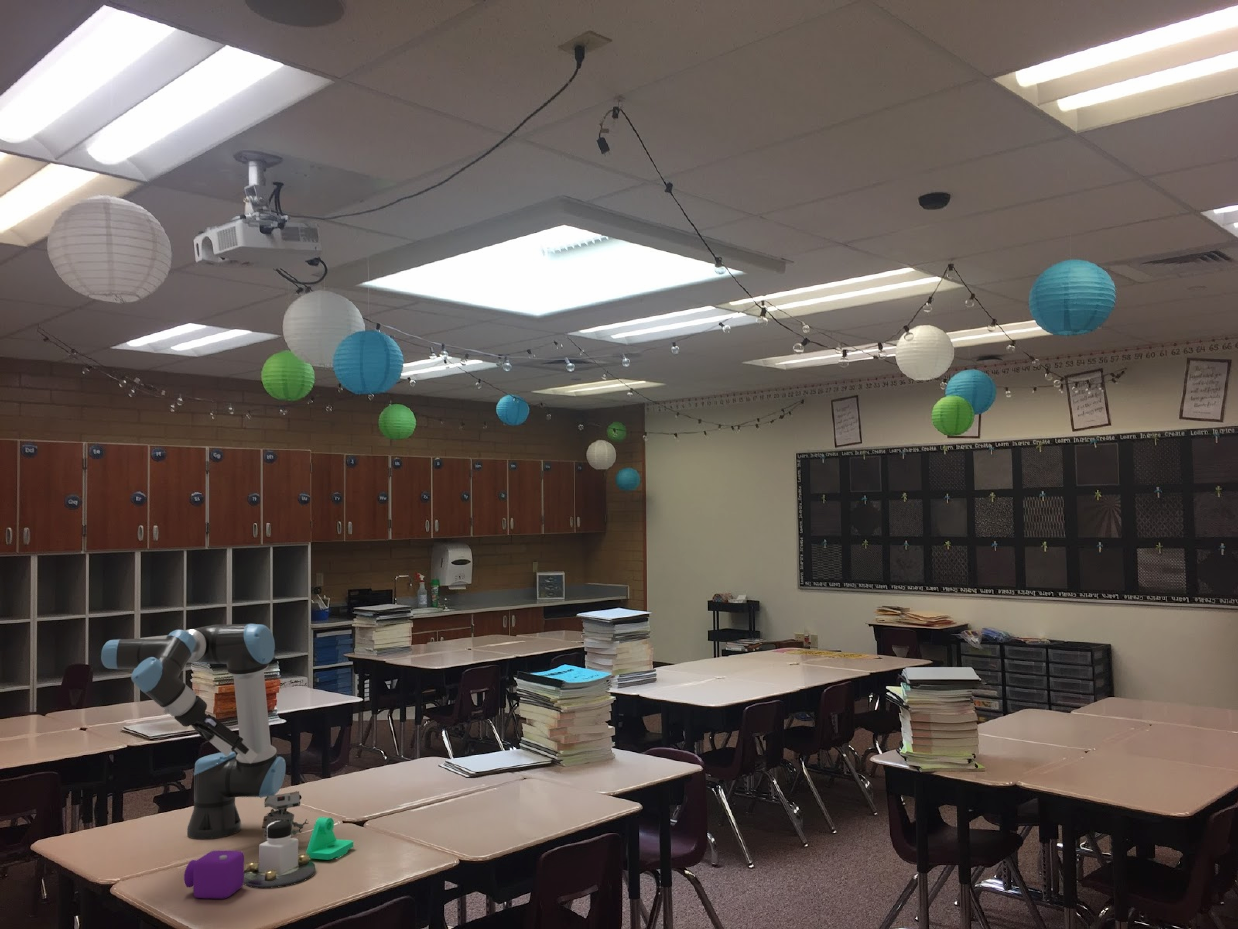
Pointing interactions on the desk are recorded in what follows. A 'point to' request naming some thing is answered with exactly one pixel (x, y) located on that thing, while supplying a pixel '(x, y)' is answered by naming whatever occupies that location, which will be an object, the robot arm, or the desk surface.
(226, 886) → the toy camera
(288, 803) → the figurine
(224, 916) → the desk surface
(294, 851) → the medicine bottle
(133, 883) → the desk surface
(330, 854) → the camera mount
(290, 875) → the plate
